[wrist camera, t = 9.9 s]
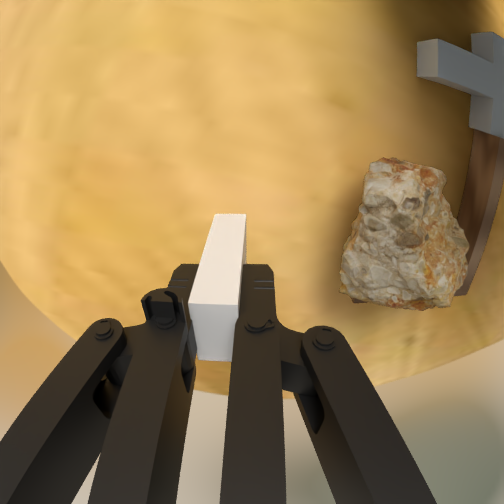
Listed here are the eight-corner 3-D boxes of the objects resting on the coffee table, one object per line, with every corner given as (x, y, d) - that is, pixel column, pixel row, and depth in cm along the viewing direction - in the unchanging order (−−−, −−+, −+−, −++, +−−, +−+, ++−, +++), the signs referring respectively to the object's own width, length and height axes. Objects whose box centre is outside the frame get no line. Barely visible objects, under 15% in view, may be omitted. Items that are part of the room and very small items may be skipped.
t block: (415, 10, 14) (435, 3, 11) (492, 45, 14) (514, 45, 11) (414, 112, 18) (435, 116, 16) (489, 133, 18) (510, 141, 16)
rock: (311, 257, 25) (340, 347, 16) (339, 135, 20) (404, 170, 11) (424, 270, 25) (475, 341, 17) (460, 170, 20) (538, 218, 12)
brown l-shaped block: (366, 103, 18) (386, 106, 15) (484, 132, 18) (510, 141, 15) (342, 278, 26) (353, 303, 23) (449, 274, 26) (466, 294, 23)
